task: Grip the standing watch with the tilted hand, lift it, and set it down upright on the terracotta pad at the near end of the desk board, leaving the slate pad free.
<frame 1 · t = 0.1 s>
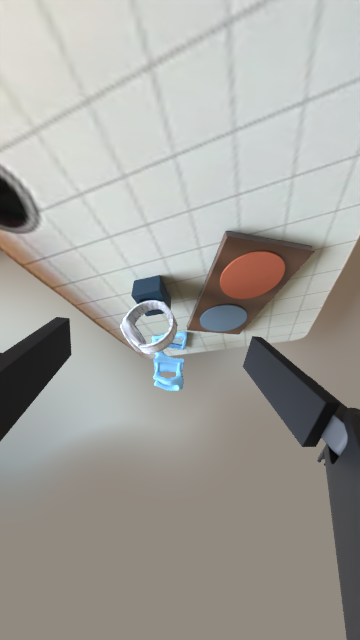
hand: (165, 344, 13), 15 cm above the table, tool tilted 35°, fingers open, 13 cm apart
chair: (169, 338, 45), on the table
terracotta pad: (250, 277, 27), resting on desk board
desk board: (233, 295, 32), on the table
slate pad: (222, 318, 36), resting on desk board
watch: (153, 289, 31), on the table
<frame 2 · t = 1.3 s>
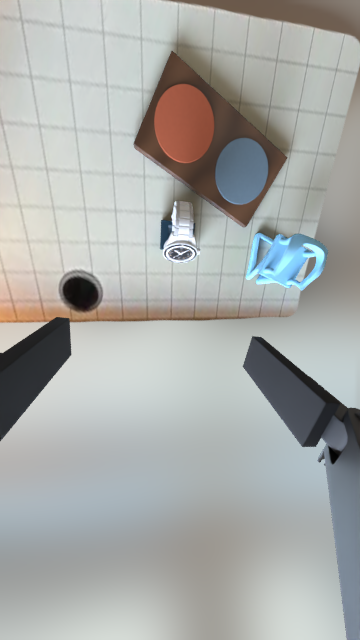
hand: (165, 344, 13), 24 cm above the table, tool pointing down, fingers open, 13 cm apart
chair: (261, 261, 37), on the table
terracotta pad: (184, 126, 27), resting on desk board
desk board: (212, 155, 30), on the table
slate pad: (241, 173, 30), resting on desk board
watch: (175, 238, 34), on the table
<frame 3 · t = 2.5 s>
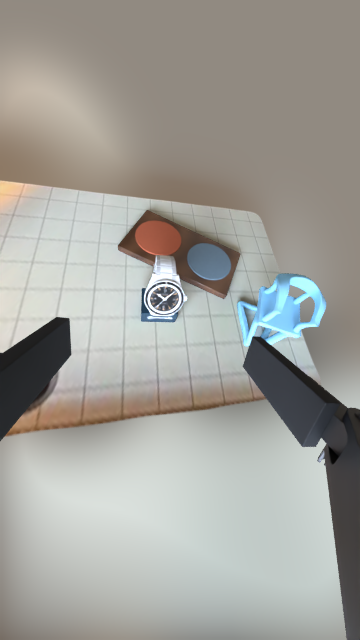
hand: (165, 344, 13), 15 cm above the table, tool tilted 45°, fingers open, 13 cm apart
chair: (253, 328, 34), on the table
terracotta pad: (158, 238, 36), resting on desk board
desk board: (182, 254, 37), on the table
slate pad: (209, 261, 36), resting on desk board
watch: (158, 311, 31), on the table
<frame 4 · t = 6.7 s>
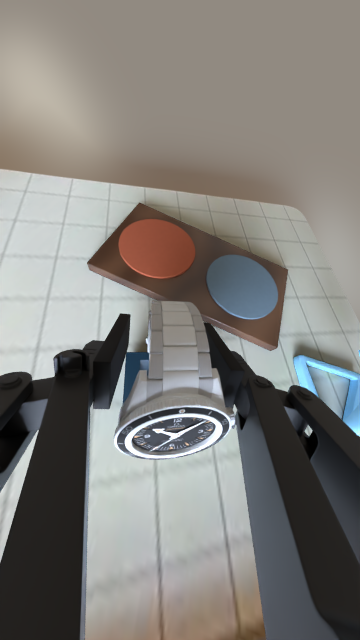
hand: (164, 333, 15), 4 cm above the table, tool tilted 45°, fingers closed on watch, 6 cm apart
chair: (325, 404, 19), on the table
terracotta pad: (158, 247, 22), resting on desk board
desk board: (197, 272, 23), on the table
slate pad: (242, 285, 22), resting on desk board
watch: (159, 385, 17), on the table, touching gripper
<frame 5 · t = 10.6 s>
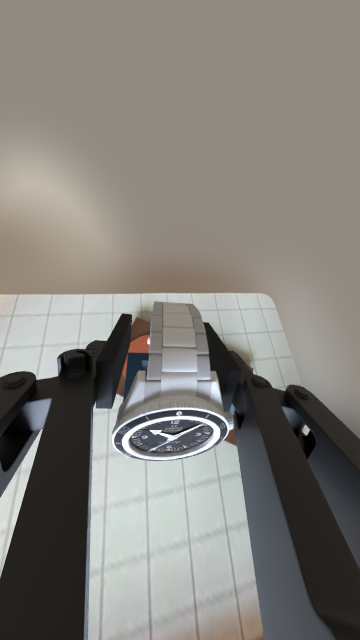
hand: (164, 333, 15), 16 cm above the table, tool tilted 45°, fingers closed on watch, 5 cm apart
terracotta pad: (151, 362, 29), resting on desk board
desk board: (181, 377, 30), on the table
watch: (160, 386, 17), point 12 cm above the table, touching gripper
when the fingers open (5 cm above the table, at t = 14.5 s): watch stays where it is, resting on terracotta pad.
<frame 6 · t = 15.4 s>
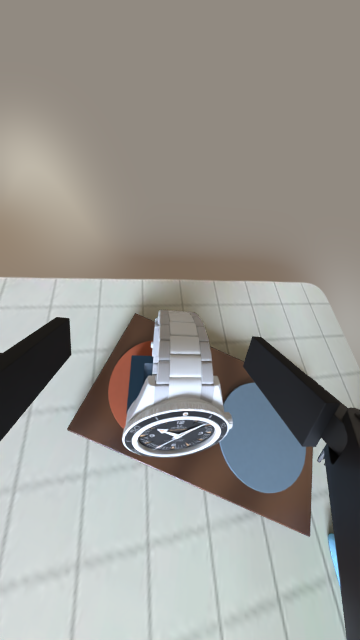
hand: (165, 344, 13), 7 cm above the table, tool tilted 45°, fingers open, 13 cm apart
terracotta pad: (158, 385, 18), resting on desk board
desk board: (206, 408, 19), on the table
slate pad: (261, 431, 18), resting on desk board
watch: (161, 387, 18), point 1 cm above the table, touching terracotta pad
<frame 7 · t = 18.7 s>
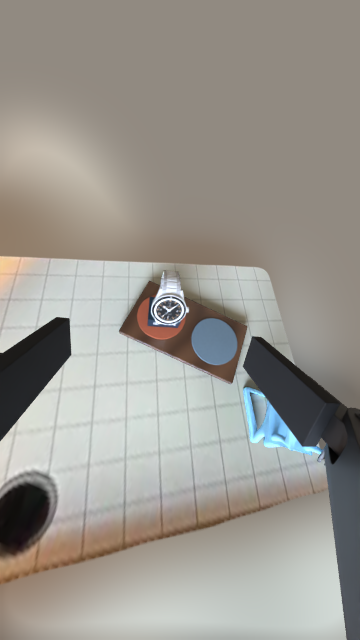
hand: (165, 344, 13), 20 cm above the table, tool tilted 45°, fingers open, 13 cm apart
chair: (260, 416, 32), on the table
terracotta pad: (161, 316, 34), resting on desk board
desk board: (186, 330, 36), on the table
slate pad: (214, 340, 35), resting on desk board
watch: (163, 317, 34), point 1 cm above the table, touching terracotta pad
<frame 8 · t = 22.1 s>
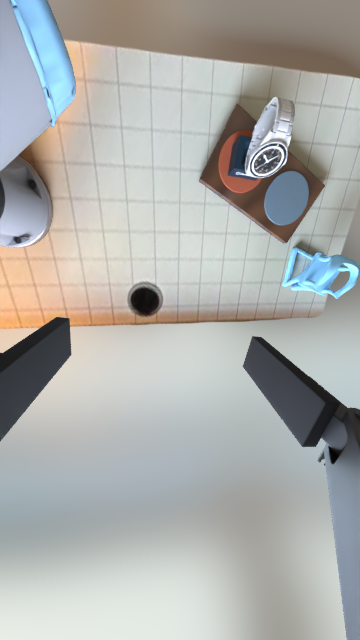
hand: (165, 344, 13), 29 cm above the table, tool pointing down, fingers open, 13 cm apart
chair: (295, 271, 43), on the table
terracotta pad: (242, 163, 33), resting on desk board
desk board: (261, 184, 36), on the table
slate pad: (286, 199, 36), resting on desk board
watch: (244, 164, 33), point 1 cm above the table, touching terracotta pad
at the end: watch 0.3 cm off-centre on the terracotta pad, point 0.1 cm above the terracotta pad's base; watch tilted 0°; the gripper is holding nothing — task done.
